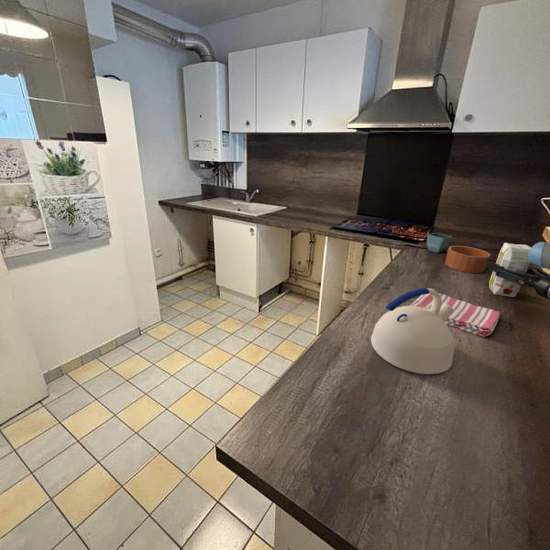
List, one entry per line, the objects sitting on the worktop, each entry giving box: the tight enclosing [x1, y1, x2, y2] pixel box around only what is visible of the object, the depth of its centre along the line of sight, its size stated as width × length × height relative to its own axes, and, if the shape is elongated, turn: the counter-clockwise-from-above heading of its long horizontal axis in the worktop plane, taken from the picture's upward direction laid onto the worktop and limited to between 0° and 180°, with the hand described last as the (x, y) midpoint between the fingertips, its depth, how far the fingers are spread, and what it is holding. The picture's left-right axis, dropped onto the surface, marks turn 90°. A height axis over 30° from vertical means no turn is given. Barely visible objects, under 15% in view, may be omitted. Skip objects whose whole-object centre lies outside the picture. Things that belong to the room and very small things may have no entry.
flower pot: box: [426, 232, 452, 254], centre depth 156 cm, size 9×9×9 cm
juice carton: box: [488, 242, 532, 298], centre depth 109 cm, size 8×9×19 cm
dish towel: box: [409, 292, 502, 338], centre depth 95 cm, size 17×23×4 cm
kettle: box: [370, 287, 456, 375], centre depth 75 cm, size 20×21×18 cm
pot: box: [444, 245, 491, 274], centre depth 137 cm, size 17×17×8 cm
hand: (500, 264), depth 113 cm, fingers closed on juice carton, 9 cm apart
